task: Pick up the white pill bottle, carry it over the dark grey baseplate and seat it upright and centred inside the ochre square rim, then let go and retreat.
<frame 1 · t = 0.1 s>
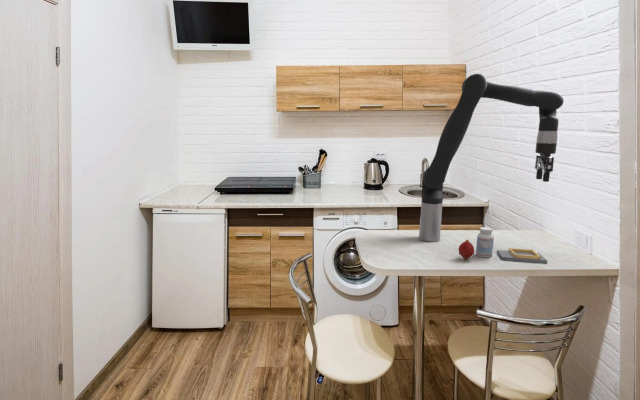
hand: (542, 180, 171), 29 cm above the table, fingers open, 8 cm apart
onion: (465, 259, 156), on the table
pill bottle: (483, 256, 161), on the table
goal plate: (520, 257, 159), on the table
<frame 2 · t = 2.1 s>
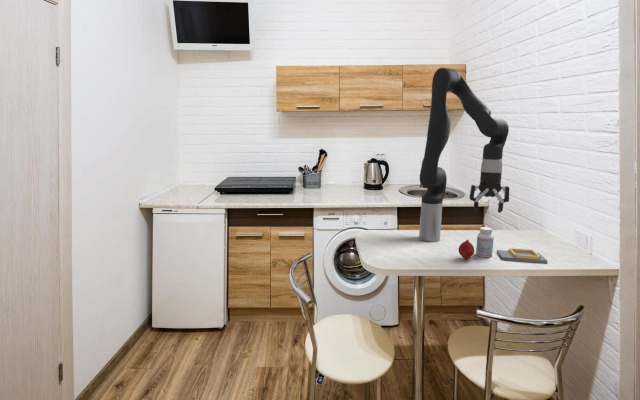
hand: (487, 211, 158), 18 cm above the table, fingers open, 8 cm apart
nothing on the table moved.
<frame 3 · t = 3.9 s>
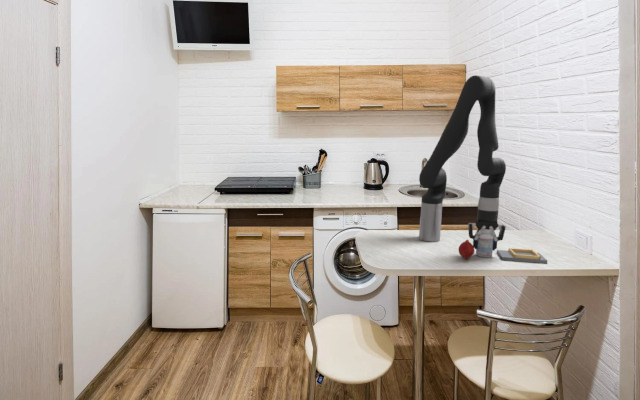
hand: (484, 249, 161), 3 cm above the table, fingers closed on pill bottle, 6 cm apart
pill bottle: (483, 256, 161), on the table, touching gripper
everything else where it was.
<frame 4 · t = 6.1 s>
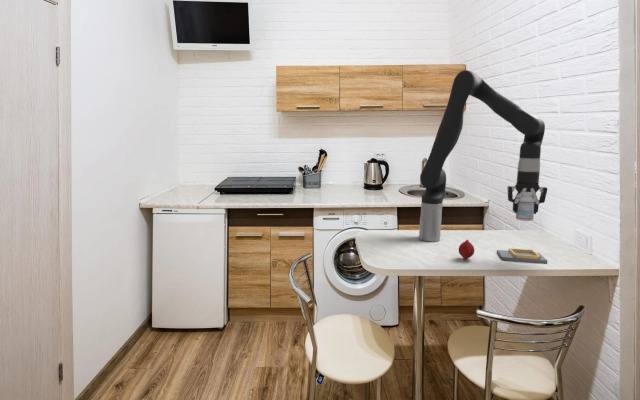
hand: (524, 213, 156), 18 cm above the table, fingers closed on pill bottle, 6 cm apart
pill bottle: (524, 220, 156), point 15 cm above the table, touching gripper
everything else where it was.
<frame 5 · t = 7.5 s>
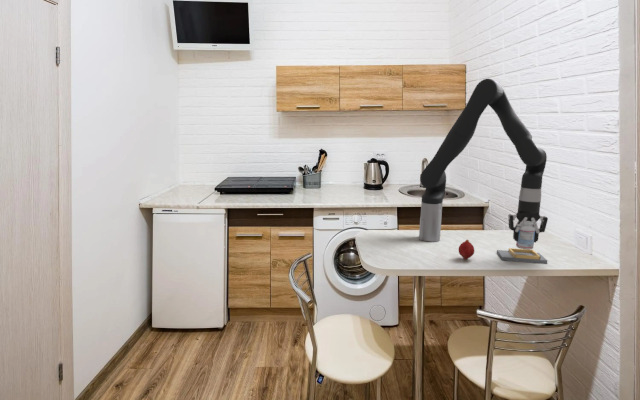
hand: (525, 241, 158), 7 cm above the table, fingers closed on pill bottle, 6 cm apart
pill bottle: (524, 248, 158), point 4 cm above the table, touching gripper
everything else where it was.
when the fingers open (4 cm above the table, at t = 8.4 s): pill bottle stays where it is, resting on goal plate.
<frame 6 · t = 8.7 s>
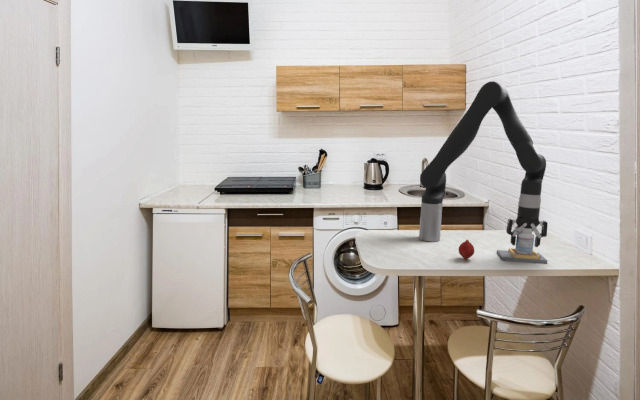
hand: (524, 245, 158), 5 cm above the table, fingers open, 8 cm apart
pill bottle: (523, 255, 159), point 1 cm above the table, touching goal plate
everything else where it was.
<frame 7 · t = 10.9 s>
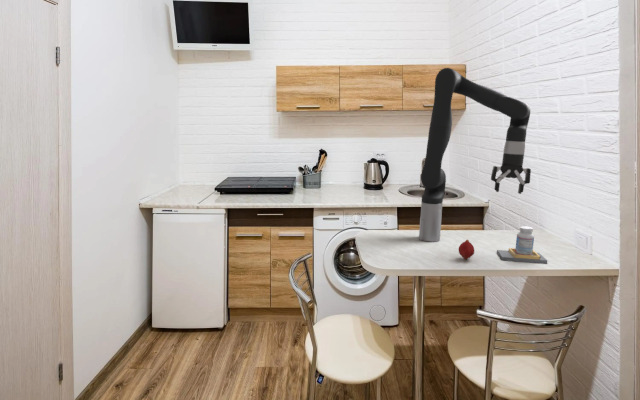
hand: (508, 192, 163), 25 cm above the table, fingers open, 8 cm apart
nothing on the table moved.
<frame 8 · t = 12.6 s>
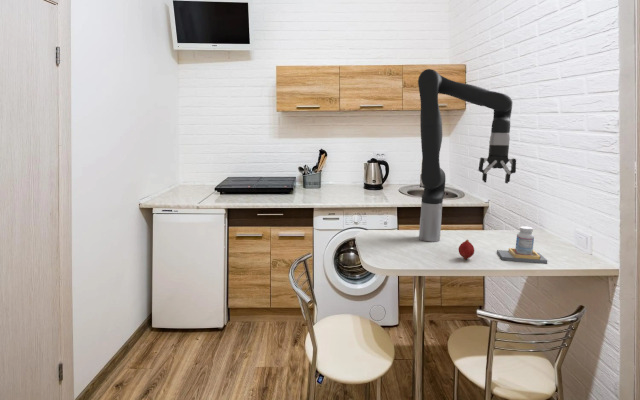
hand: (495, 182, 169), 28 cm above the table, fingers open, 8 cm apart
nothing on the table moved.
at the end: pill bottle 0.2 cm from the target spot on the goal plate, point 1.0 cm above the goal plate's base; pill bottle tilted 0°; the gripper is holding nothing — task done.
